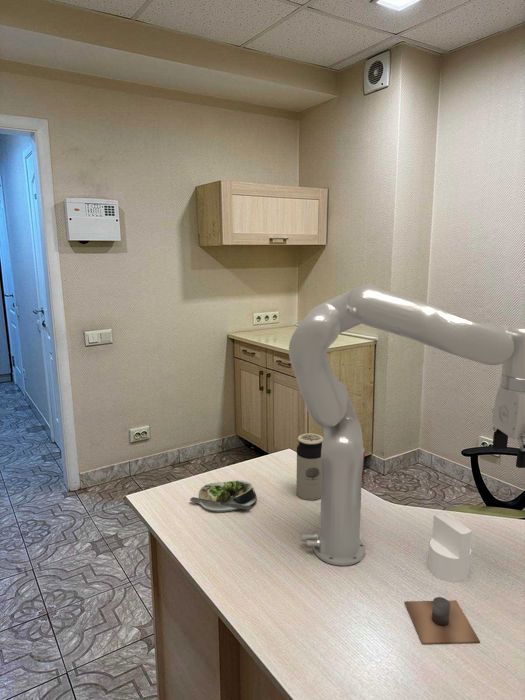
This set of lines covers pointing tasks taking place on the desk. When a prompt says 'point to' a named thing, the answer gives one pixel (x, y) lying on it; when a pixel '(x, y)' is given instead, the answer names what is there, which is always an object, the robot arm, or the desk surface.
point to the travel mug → (309, 466)
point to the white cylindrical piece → (449, 549)
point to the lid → (440, 622)
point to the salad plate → (227, 496)
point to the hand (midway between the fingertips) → (511, 457)
